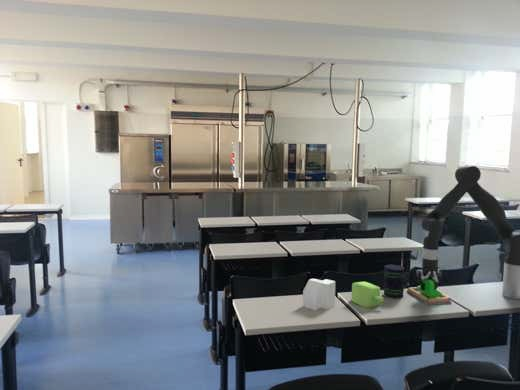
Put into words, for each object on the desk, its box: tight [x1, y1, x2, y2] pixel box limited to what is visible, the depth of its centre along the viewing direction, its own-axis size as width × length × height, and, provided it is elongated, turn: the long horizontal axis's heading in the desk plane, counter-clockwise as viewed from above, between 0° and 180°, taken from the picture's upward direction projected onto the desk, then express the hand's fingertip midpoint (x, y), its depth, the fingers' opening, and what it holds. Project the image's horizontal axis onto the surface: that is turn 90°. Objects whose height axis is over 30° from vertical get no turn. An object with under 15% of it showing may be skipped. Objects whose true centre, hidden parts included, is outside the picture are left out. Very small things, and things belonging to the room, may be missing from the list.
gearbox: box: [350, 281, 384, 309], centre depth 203 cm, size 18×10×10 cm, turn 30°
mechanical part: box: [416, 279, 442, 298], centre depth 212 cm, size 12×6×8 cm, turn 9°
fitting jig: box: [406, 286, 452, 306], centre depth 213 cm, size 12×20×2 cm, turn 11°
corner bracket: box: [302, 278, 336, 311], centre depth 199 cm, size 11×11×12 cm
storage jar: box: [383, 264, 405, 299], centre depth 215 cm, size 10×10×15 cm
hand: (428, 289), depth 213 cm, fingers closed on mechanical part, 6 cm apart
